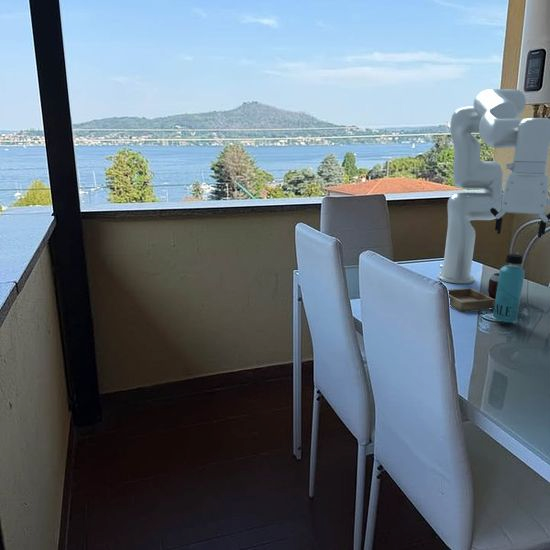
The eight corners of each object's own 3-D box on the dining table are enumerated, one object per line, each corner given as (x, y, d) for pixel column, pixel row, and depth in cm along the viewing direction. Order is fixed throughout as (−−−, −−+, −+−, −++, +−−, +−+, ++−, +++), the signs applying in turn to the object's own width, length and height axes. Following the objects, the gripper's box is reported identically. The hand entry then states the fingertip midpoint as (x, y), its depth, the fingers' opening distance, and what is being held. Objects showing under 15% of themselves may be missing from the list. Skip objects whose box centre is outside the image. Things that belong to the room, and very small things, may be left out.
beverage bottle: (515, 320, 132) (526, 252, 127) (518, 328, 126) (530, 258, 121) (490, 317, 134) (500, 250, 129) (492, 325, 128) (503, 256, 123)
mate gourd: (486, 300, 148) (492, 255, 144) (487, 293, 155) (493, 250, 151) (512, 304, 145) (519, 258, 141) (511, 296, 152) (518, 252, 148)
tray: (438, 299, 149) (439, 290, 148) (469, 296, 152) (471, 287, 151) (460, 312, 138) (461, 302, 137) (493, 308, 141) (495, 299, 140)
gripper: (490, 168, 119) (482, 234, 123) (569, 170, 111) (557, 240, 116) (492, 167, 125) (484, 229, 130) (567, 169, 117) (555, 235, 122)
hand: (518, 234), depth 123 cm, fingers open, 9 cm apart
